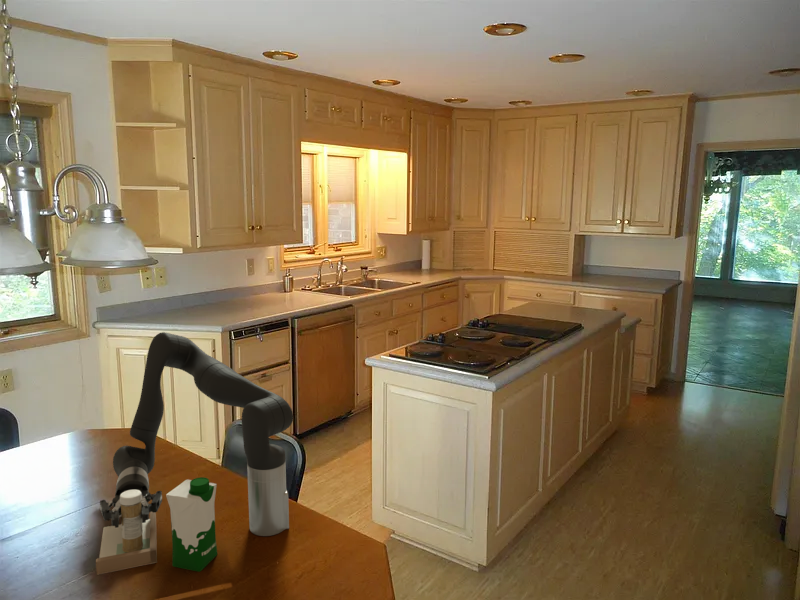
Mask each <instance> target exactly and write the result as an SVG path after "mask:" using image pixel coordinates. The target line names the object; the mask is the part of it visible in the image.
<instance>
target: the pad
mask: <svg viewBox="0 0 800 600" xmlns="http://www.w3.org/2000/svg"><path fill="white" fill-rule="evenodd" d="M122 547H123V543H121V544H117V551H116V555H118V554H123V553H128V552H124V551H123V550H122ZM149 548H150V538H147V539H143V547H142V548H141V549H140V550H144V549H149Z"/></svg>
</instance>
